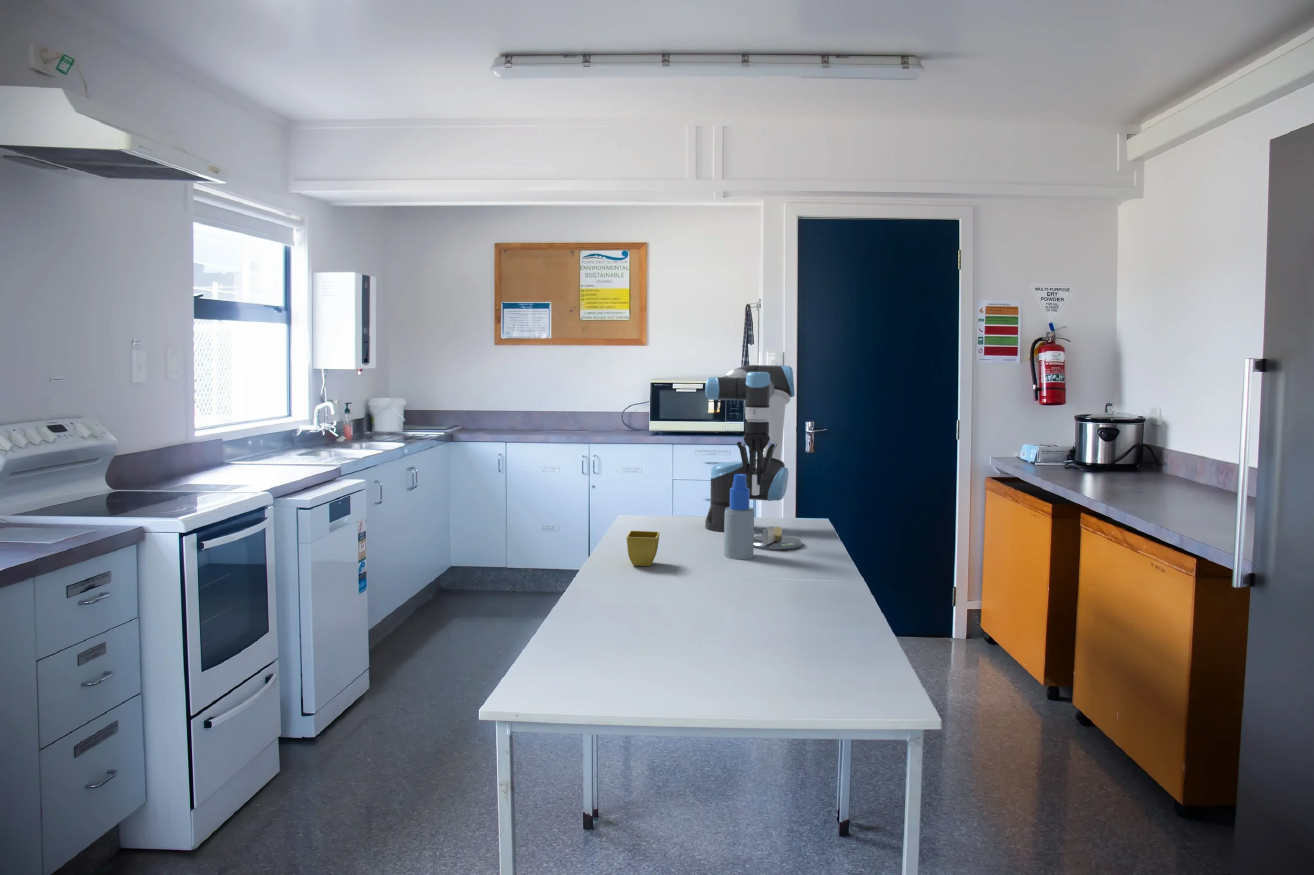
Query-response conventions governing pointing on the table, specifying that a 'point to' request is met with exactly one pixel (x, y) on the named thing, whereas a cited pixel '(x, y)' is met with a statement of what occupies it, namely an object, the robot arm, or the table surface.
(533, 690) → the table surface
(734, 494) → the spray bottle
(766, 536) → the needle dial
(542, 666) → the table surface
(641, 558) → the gold square bowl
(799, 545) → the gauge plate
